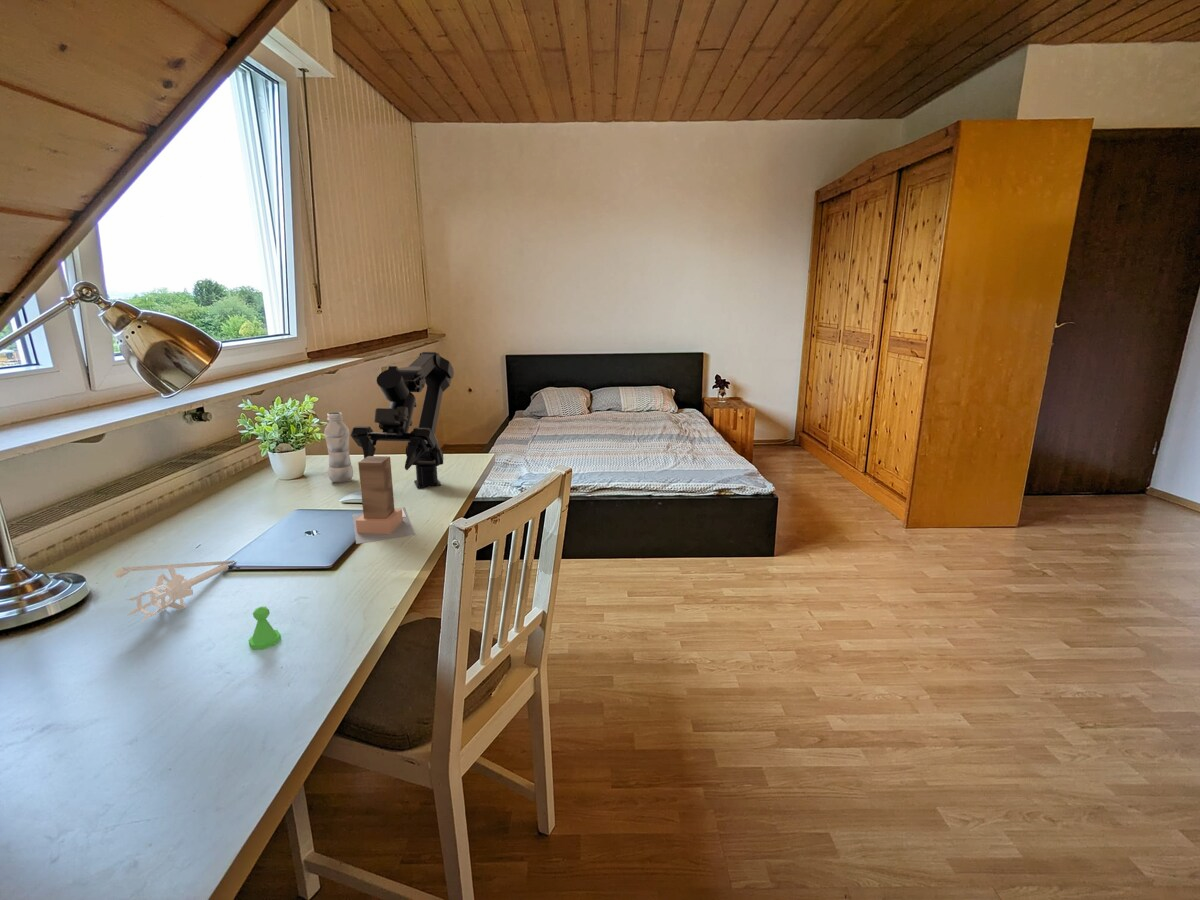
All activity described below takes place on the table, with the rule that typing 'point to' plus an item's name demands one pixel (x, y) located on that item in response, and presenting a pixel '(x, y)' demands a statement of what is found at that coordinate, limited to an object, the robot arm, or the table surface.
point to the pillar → (376, 487)
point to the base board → (400, 531)
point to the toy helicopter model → (171, 585)
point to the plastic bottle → (338, 448)
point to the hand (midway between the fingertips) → (386, 468)
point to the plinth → (379, 523)
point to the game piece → (263, 631)
